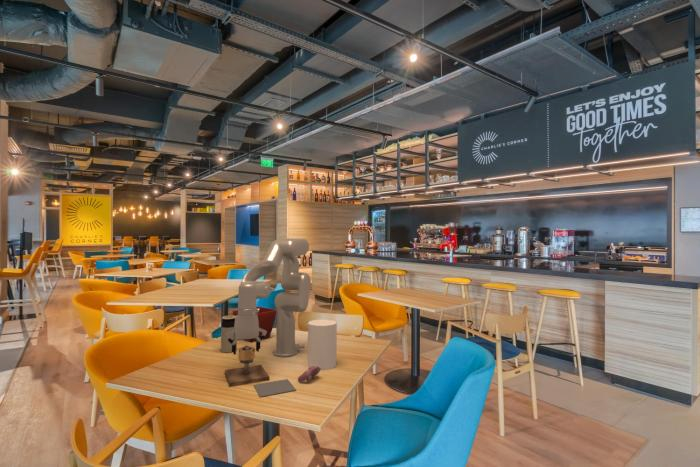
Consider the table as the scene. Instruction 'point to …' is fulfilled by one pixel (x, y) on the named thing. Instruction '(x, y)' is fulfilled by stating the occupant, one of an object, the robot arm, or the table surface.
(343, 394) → the table surface
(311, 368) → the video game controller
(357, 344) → the table surface
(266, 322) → the plant pot
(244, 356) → the wooden ring
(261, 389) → the rubber mat
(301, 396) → the table surface
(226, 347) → the travel mug
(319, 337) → the canister
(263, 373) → the post stand
